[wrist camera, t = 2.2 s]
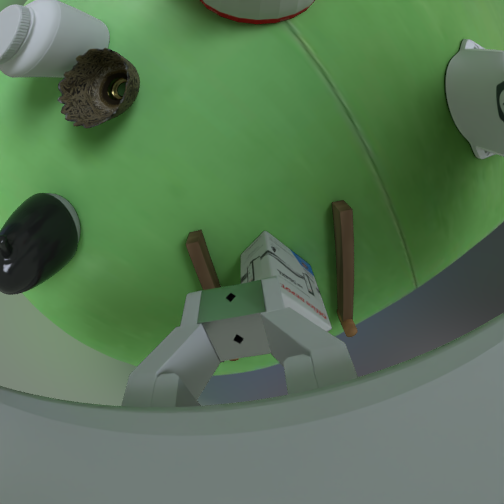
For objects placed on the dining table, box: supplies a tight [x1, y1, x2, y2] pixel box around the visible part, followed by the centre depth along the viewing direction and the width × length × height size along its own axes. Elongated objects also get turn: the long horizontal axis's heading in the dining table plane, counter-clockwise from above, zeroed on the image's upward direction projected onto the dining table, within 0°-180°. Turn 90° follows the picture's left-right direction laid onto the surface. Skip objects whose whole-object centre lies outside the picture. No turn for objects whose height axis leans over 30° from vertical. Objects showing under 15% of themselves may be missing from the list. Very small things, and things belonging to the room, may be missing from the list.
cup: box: [58, 48, 140, 128], centre depth 20 cm, size 8×7×8 cm
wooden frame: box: [186, 200, 357, 362], centre depth 33 cm, size 22×19×7 cm
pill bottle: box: [0, 0, 110, 78], centre depth 13 cm, size 8×8×15 cm
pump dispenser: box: [0, 193, 80, 294], centre depth 23 cm, size 10×10×15 cm
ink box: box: [241, 231, 332, 332], centre depth 30 cm, size 9×5×12 cm, turn 49°
